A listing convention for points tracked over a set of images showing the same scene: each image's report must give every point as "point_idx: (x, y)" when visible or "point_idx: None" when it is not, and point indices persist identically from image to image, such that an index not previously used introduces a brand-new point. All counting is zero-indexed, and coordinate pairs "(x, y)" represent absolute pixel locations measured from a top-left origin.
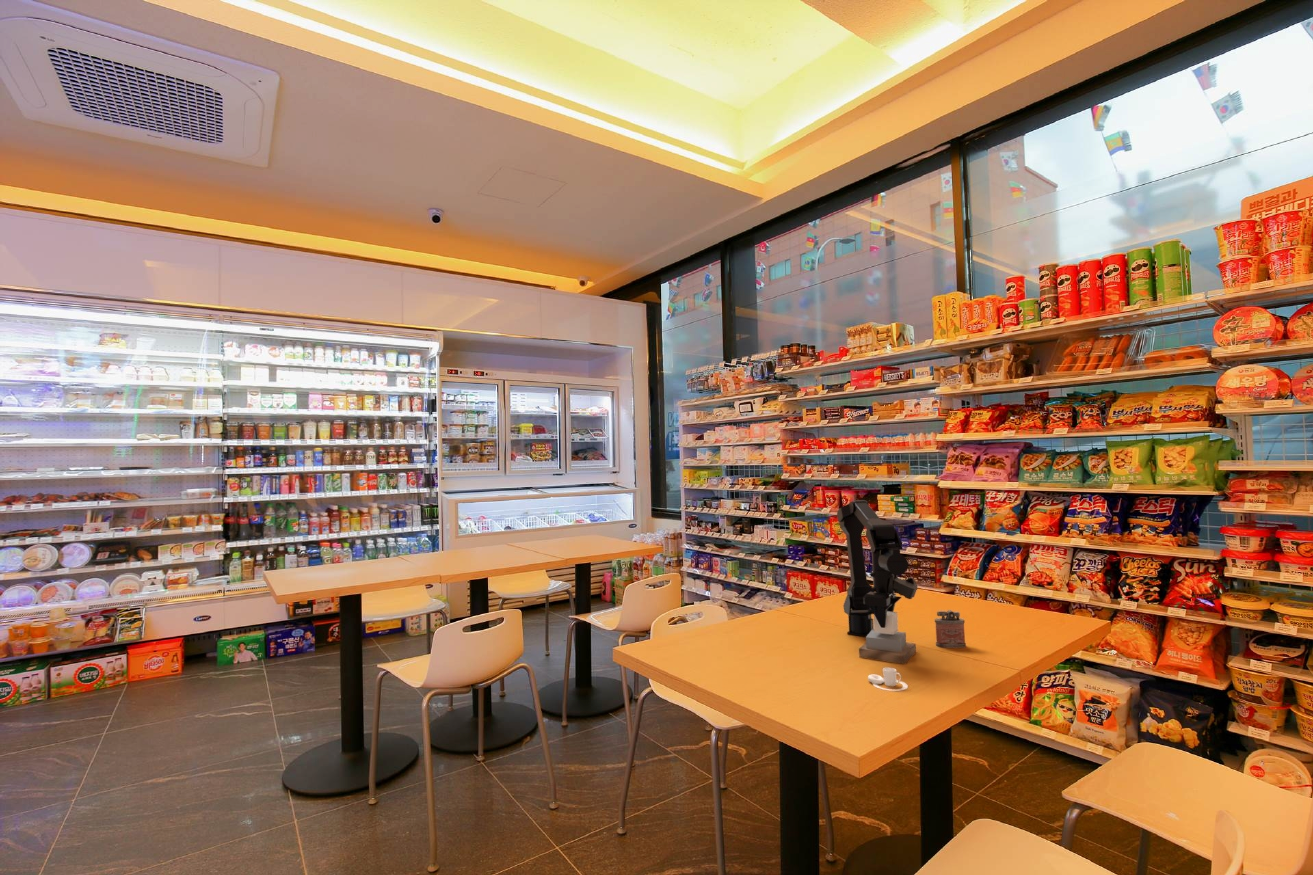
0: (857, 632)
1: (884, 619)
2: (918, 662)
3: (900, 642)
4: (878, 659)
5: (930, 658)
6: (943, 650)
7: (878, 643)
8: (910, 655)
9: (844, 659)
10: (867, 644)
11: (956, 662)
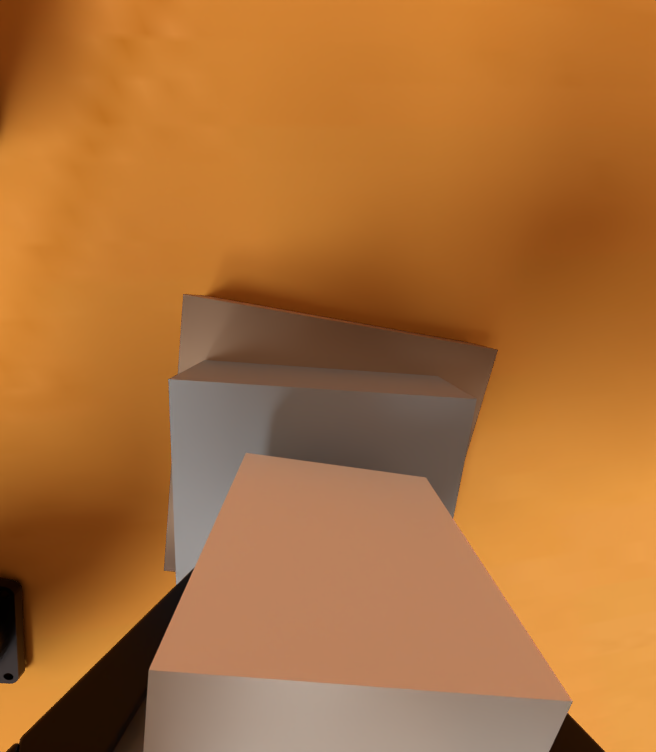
0: (3, 644)
1: (565, 717)
2: (418, 269)
3: (462, 394)
4: None
5: (311, 197)
6: (77, 103)
7: None
8: (341, 320)
9: None
10: None
11: (343, 6)
